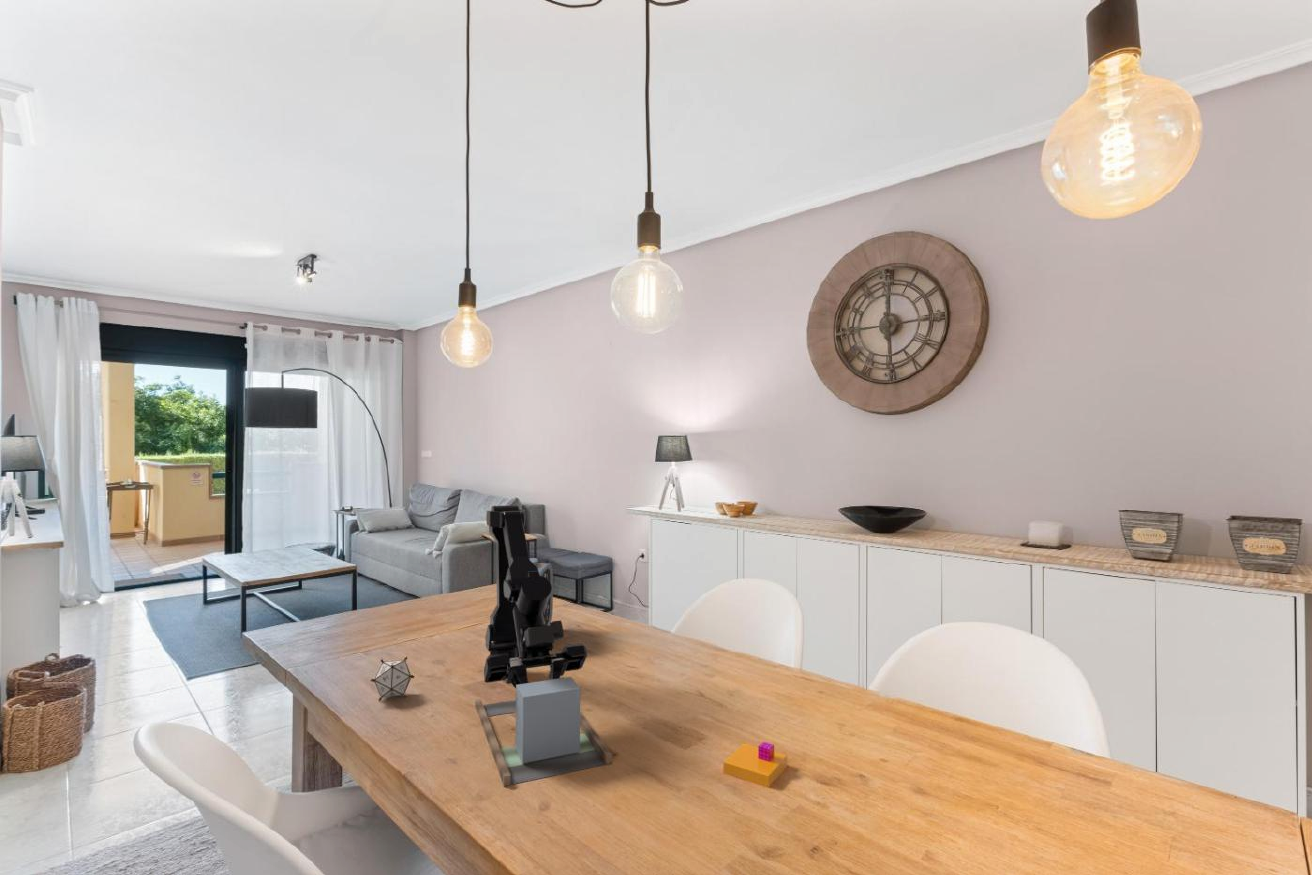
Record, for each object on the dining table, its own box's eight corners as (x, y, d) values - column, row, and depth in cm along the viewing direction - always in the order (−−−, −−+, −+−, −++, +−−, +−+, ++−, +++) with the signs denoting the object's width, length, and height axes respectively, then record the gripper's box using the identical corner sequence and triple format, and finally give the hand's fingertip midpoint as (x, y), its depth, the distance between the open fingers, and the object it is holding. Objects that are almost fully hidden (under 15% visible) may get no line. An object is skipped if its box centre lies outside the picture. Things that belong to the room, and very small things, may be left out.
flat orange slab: (768, 790, 97) (768, 763, 97) (723, 775, 101) (723, 749, 101) (787, 768, 103) (787, 743, 103) (743, 755, 108) (743, 731, 108)
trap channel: (475, 706, 127) (475, 698, 127) (560, 692, 134) (560, 685, 134) (503, 786, 97) (504, 776, 97) (611, 763, 104) (611, 754, 104)
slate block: (515, 747, 109) (516, 684, 109) (570, 737, 113) (570, 676, 113) (522, 763, 103) (523, 697, 103) (579, 751, 107) (580, 688, 107)
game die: (396, 717, 130) (394, 690, 124) (363, 700, 131) (359, 672, 126) (424, 684, 137) (423, 656, 131) (392, 667, 139) (390, 640, 133)
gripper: (486, 611, 112) (496, 694, 102) (584, 601, 120) (602, 677, 110) (480, 642, 120) (488, 722, 109) (573, 631, 127) (589, 705, 117)
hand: (543, 706), depth 111 cm, fingers open, 4 cm apart
